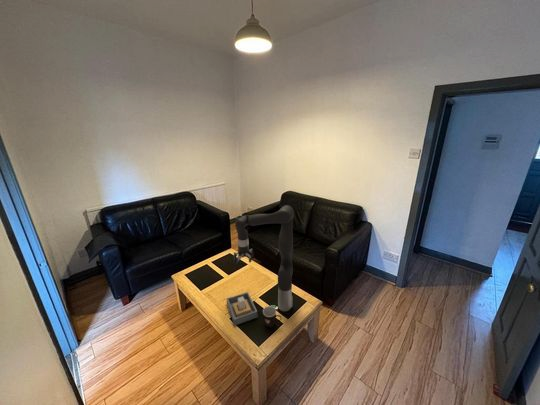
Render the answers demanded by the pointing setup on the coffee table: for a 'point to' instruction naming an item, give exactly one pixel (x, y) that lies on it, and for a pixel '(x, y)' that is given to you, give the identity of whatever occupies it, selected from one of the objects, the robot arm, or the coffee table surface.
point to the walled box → (243, 314)
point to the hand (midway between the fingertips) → (244, 263)
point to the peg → (241, 303)
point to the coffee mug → (270, 316)
